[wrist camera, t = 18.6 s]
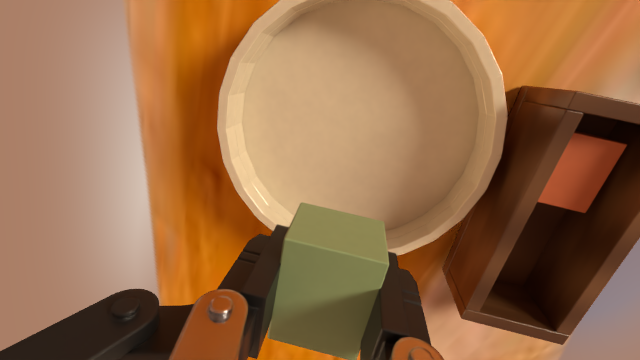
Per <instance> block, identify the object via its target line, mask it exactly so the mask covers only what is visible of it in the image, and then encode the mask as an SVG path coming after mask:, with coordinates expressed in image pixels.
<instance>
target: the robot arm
mask: <svg viewBox="0 0 640 360" xmlns="http://www.w3.org/2000/svg"><path fill="white" fill-rule="evenodd" d="M288 228H289V227H287V226H283V225H279V224H277V225H276V227H275V229H274V231H273V232H272V234H271V236H266V235H262V234H259V235H257V236H256V237H254V238H252V239H251V240H249V242H248V243H247V245H246V246H245V248H244V249H243V252H241V254H240V255H239V257H238V259H237V260H236V261H235V263H234V264H233V266H232V267H231V269H230V270H229V272H228V273H227V275H226V276H225V278H224V279H223V281H222V283H221V284H220V286H219V287H218V289H217V290H213V291H210V292H208V293H206V294H204V295H203V296H201V297H200V298H199V299H198V300H197V301H196V302H195V304H191V305H183V306H159V300H158V298H157V296H156V295H155V294H153V293H152V292H150V291H148V290H144V289H129V290H124V291H121V292H118V293H115V294H113V295H111V296H109V297H107V298H105V299H103V300H101V301H99V302H97V303H95V304H93V305H91V306H89V307H87V308H85V309H83V310H81V311H79V312H77V313H75V314H73V315H71V316H69V317H67V318H65V319H63V320H61V321H59V322H57V323H55V324H53V325H51V326H49V327H47V328H46V329H44V330H42V331H40V332H38V333H36V334H34V335H32V336H30V337H28V338H26V339H24V340H22V341H20V342H18V343H16V344H14V345H12V346H10V347H8V348H6V349H4V350H2V351H0V360H247V358H248V356H249V357H252V358H256V359H257V357H258V354H259V352H260V349H261V346H262V344H263V341H264V338H265V335H266V333H267V330H268V327H269V324H270V322H271V319H272V313H273V307H274V302H275V296H276V290H277V284H278V278H279V272H280V266H281V263H280V258H281V252H282V246H283V240H284V237H285V235H286V233H287V231H288ZM388 258H389V267H388V270H387V273H386V276H385V279H384V281H383V284H382V287H381V289H379V291H378V294H377V296H376V299H375V302H374V305H373V308H372V311H371V314H370V317H369V320H368V323H367V326H366V328H365V331H364V334H363V337H362V340H361V351H360V360H444V359H443V357H442V356H441V355H440V353H439V352H438V351H437V350H436V349H435V348H434V347H432V346H431V342H430V338H429V334H428V330H427V325H426V321H425V317H424V313H423V308H422V306H421V300H420V296H419V291H418V287H417V283H416V281H415V280H414V278H413V277H412V275H411V274H410V273H409V271H407V270H403V269H399V267H398V261H397V255H396V253H393V252H389V251H388Z"/></svg>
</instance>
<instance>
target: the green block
mask: <svg viewBox="0 0 640 360" xmlns="http://www.w3.org/2000/svg"><path fill="white" fill-rule="evenodd" d="M280 263H281V266H280V272H279V278H278V284H277V290H276V296H275V302H274V307H273V313H272V319H271V322H270V324H269V330H268V338H269V339H273V340H277V341H281V342H284V343H288V344H292V345H295V346H299V347H303V348H307V349H310V350H314V351H318V352H322V353H325V354H329V355H333V356H337V357H340V358H344V359H348V360H357V357H358V354H359V351H360V348H361V340H362V337H363V334H364V331H365V328H366V326H367V323H368V320H369V317H370V314H371V311H372V308H373V305H374V302H375V299H376V296H377V294H378V291H379V289H381V287H382V284H383V281H384V279H385V276H386V273H387V270H388V267H389V258H388V250H387V242H386V233H385V225H384V222H383V221H380V220H375V219H371V218H367V217H363V216H358V215H354V214H350V213H346V212H341V211H337V210H333V209H329V208H325V207H320V206H316V205H312V204H308V203H303V202H301V203H300V205H299V207H298V209H297V211H296V214H295V216H294V218H293V220H292V222H291V224H290V226H289V228H288V231H287V233H286V235H285V237H284V240H283V246H282V252H281V258H280Z"/></svg>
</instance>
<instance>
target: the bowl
mask: <svg viewBox="0 0 640 360" xmlns="http://www.w3.org/2000/svg"><path fill="white" fill-rule="evenodd" d="M219 92H220V93H219V104H218V119H217V131H218V137H219V142H220V148H221V153H222V158H223V162H224V165H225V167H226V169H227V172H228V174H229V176H230V178H231V180H232V183H233V185H234V187H235V189H236V191H237V193H238V194H239V196H240V197H241V198H242V199H243V201H244V202H245V203H246V205H247V206H248V207H249V209H250V210H251V211H252V212H253V214H254V215H255V216H256V217H257V218H258V219H259V220H260V221H261V222H262V223H264V224H265V225H266V226H267V227H269V228H270V229H271V230H272V231H274V229H275V227H276V225H277V224H279V225H283V226H287V227H289V226H290V224H291V222H292V220H293V218H294V216H295V214H296V211H297V209H298V207H299V205H300V203H301V202H303V203H308V204H312V205H316V206H320V207H325V208H329V209H333V210H337V211H341V212H346V213H350V214H354V215H358V216H363V217H367V218H371V219H375V220H380V221H383V222H384V225H385V233H386V242H387V250H388V251H389V252H393V253H396V255H402V254H403V253H404V254H405V253H408V252H410V251H412V250H414V249H417V248H419V247H421V246H424V245H426V244H428V243H430V242H433V241H434V240H436V239H438V238H439V237H440V236H441V235H443V234H444V233H445V232H447V231H448V230H449V229H451V228H452V227H453V226H455V225H456V224H457V223H459V222H460V221H461V220H462V219H463V218H464V217H465V216H466V215H467V214H468V212H469V211H470V210H471V209H472V207H473V206H474V205H475V204H476V202H477V201H478V200H479V199H480V197H481V196H482V195H483V194H484V192H485V191H486V190H487V188H488V185H489V183H490V181H491V179H492V177H493V174H494V172H495V170H496V168H497V165H498V163H499V161H500V159H501V155H502V151H503V145H504V138H505V131H506V125H507V118H508V116H507V115H508V112H507V105H506V98H505V90H504V83H503V76H502V73H501V70H500V68H499V66H498V64H497V62H496V60H495V58H494V55H493V53H492V51H491V49H490V47H489V45H488V43H487V41H486V38H485V36H483V34H482V33H481V32H480V31H479V30H478V28H477V27H476V26H475V25H474V24H473V23H472V22H471V21H470V20H469V19H468V18H467V17H466V16H465V15H464V13H463V12H462V11H461V10H460V9H459V8H458V7H457V6H456V5H455V4H453V2H451V1H450V0H280V1H278V2H277V3H276V4H275V5H274V6H273V7H271V8H270V9H269V10H268V11H267V12H265V13H264V14H263V15H262V16H261V17H260V18H258V19H257V20H256V21H255V22H254V24H252V26H251V27H250V29H249V30H248V32H247V33H246V35H245V36H244V38H243V39H242V41H241V42H240V44H239V45H238V47H237V48H236V50H235V51H234V53H233V54H232V57H231V58H230V61H229V64H228V67H227V70H226V73H225V76H224V79H223V82H222V85H221V88H220V91H219Z"/></svg>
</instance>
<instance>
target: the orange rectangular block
mask: <svg viewBox="0 0 640 360" xmlns="http://www.w3.org/2000/svg"><path fill="white" fill-rule="evenodd" d="M626 146H627V144H625V143H621V142H618V141H614V140H611V139H607V138H604V137H600V136H597V135H593V134H588V133H584V132H579V131H575V132H574V133H573V135H572V137H571V139H570V141H569V143H568V145H567V147H566V149H565V150H564V152H563V154H562V156H561V158H560V160H559V162H558V164H557V166H556V167H555V169H554V171H553V173H552V175H551V177H550V179H549V181H548V183H547V184H546V186H545V188H544V190H543V192H542V194H541V196H540V198H539V200H538V201H537V202H540V203H545V204H549V205H553V206H557V207H561V208H566V209H570V210H574V211H578V212H583V213H586V211H587V210H588V208H589V206H590V205H591V203H592V201H593V200H594V198H595V197H596V195H597V193H598V192H599V190H600V188H601V187H602V185H603V184H604V182H605V180H606V179H607V177H608V175H609V174H610V172H611V171H612V169H613V167H614V166H615V164H616V162H617V161H618V159H619V158H620V156H621V154H622V153H623V151H624V149H625V148H626Z"/></svg>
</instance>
